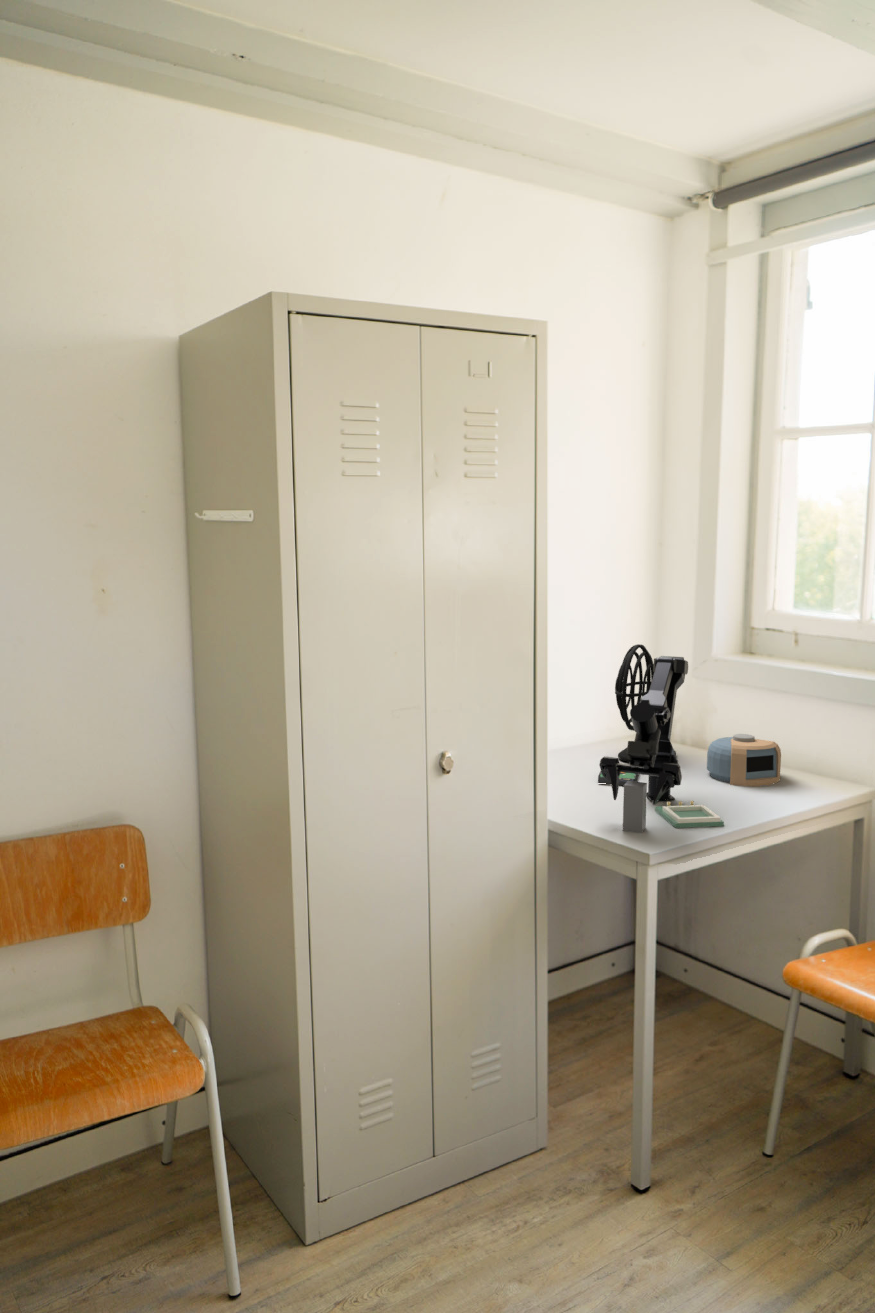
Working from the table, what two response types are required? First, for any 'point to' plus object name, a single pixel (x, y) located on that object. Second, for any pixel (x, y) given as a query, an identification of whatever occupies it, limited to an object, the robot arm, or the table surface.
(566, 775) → the table surface
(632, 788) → the block
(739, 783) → the alarm clock
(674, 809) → the green flat piece
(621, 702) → the desk fan
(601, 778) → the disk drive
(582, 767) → the table surface
